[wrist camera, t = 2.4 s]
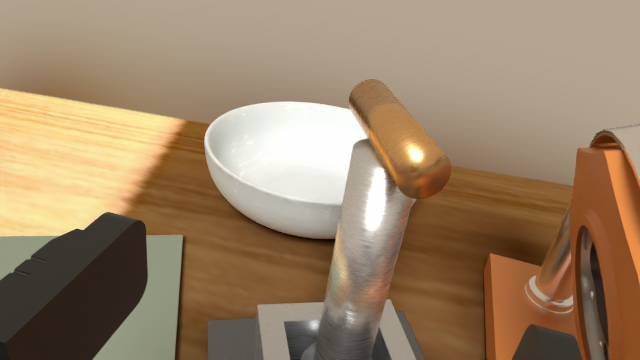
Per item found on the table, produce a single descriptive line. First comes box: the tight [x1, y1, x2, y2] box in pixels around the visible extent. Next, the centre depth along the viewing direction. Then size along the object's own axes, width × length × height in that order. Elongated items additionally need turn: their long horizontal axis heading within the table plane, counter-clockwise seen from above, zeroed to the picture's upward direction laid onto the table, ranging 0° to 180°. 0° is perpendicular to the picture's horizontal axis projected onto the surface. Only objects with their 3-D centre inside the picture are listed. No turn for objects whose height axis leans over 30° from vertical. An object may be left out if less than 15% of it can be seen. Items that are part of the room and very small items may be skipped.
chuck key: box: [300, 79, 451, 360], centre depth 24 cm, size 7×4×18 cm, turn 11°
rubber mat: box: [0, 235, 183, 360], centre depth 33 cm, size 16×16×1 cm
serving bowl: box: [204, 102, 416, 239], centre depth 48 cm, size 21×21×7 cm
